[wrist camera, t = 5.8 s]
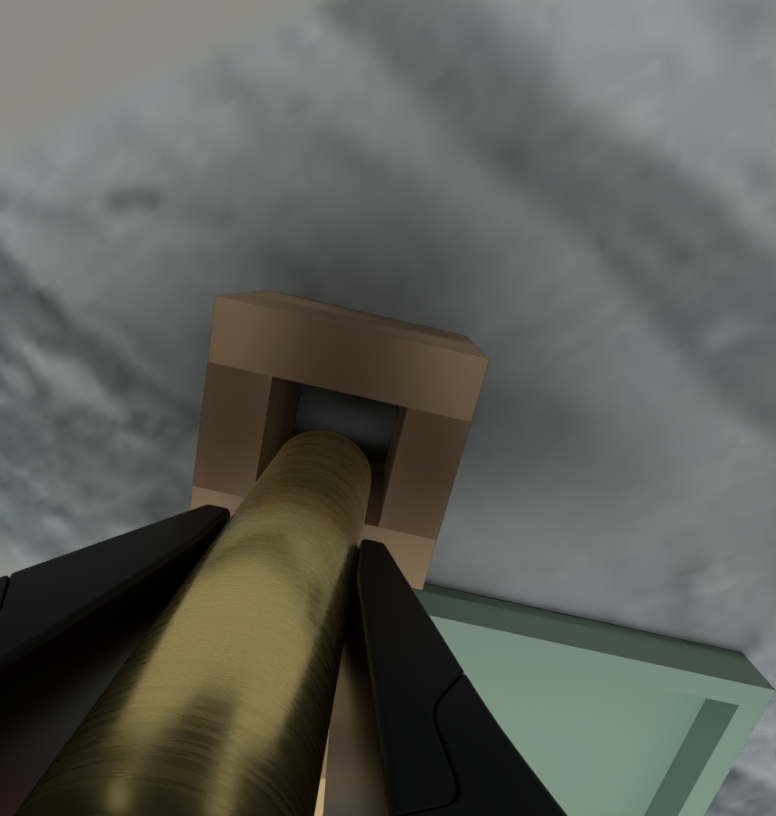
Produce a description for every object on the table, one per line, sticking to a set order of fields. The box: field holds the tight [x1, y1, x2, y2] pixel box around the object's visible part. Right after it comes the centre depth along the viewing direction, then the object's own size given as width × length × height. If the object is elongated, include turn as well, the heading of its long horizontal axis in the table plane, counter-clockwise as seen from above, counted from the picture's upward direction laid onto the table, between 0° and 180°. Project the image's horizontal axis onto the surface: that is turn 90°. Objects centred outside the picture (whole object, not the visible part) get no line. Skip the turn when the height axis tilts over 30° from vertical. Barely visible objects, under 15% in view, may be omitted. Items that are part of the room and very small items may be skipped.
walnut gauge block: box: [190, 290, 489, 590], centre depth 15 cm, size 7×7×5 cm
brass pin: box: [13, 430, 371, 816], centre depth 8 cm, size 2×2×8 cm
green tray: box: [412, 584, 776, 816], centre depth 20 cm, size 14×13×2 cm
